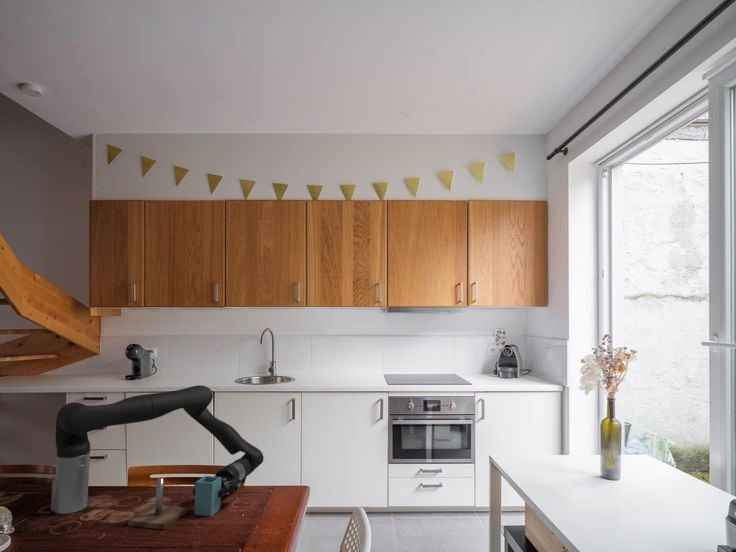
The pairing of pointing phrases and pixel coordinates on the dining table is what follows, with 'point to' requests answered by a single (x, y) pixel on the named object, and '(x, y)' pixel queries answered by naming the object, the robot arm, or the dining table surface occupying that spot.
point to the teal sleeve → (207, 496)
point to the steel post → (159, 496)
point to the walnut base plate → (157, 517)
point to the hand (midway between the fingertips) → (206, 493)
